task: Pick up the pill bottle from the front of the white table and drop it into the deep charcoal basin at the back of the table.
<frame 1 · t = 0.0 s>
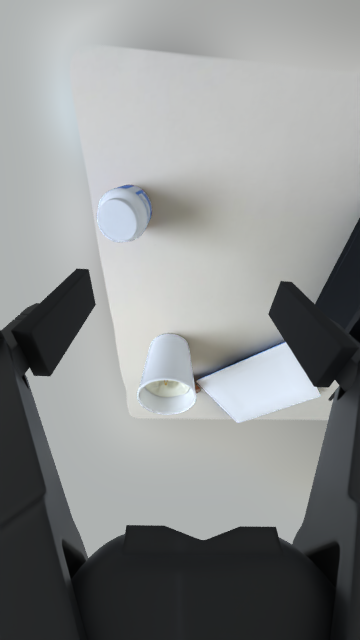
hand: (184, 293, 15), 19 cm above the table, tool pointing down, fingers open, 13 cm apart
pill bottle: (133, 207, 29), on the table
candle holder: (169, 347, 44), on the table
plate: (257, 381, 51), on the table
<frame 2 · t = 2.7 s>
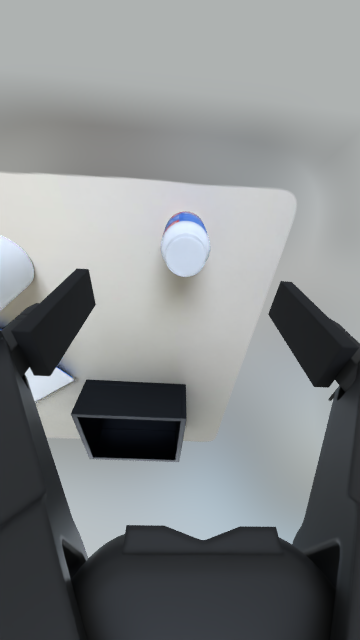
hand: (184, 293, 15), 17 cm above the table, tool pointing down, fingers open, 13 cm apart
basin: (138, 407, 52), on the table
pill bottle: (184, 233, 28), on the table
candle holder: (5, 262, 31), on the table
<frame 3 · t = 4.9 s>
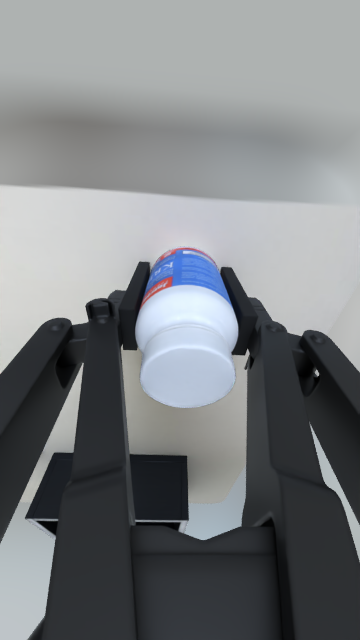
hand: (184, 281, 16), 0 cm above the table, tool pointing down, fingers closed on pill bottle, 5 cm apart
basin: (126, 476, 40), on the table
pill bottle: (184, 278, 17), on the table, touching gripper
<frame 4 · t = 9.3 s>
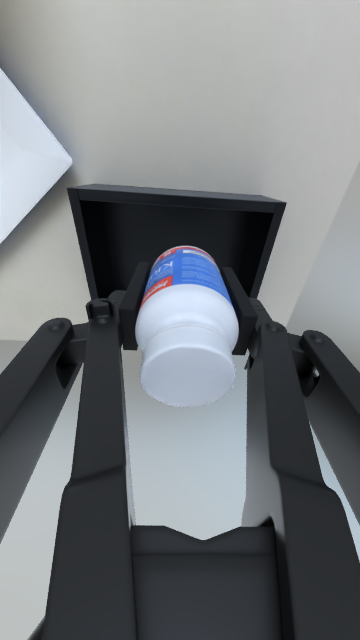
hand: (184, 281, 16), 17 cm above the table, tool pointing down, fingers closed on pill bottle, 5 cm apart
basin: (175, 263, 33), on the table
pill bottle: (184, 278, 17), point 17 cm above the table, touching gripper
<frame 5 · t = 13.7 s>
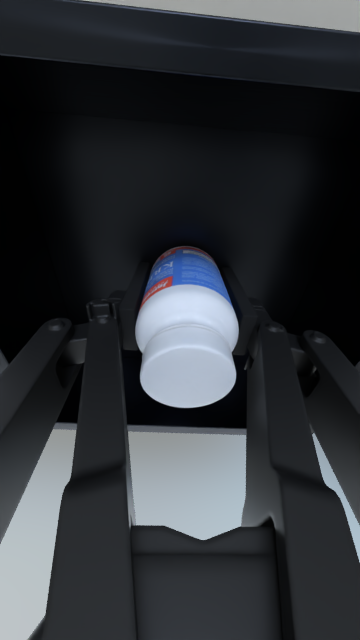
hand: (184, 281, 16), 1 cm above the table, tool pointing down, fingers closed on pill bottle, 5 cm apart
basin: (183, 274, 17), on the table
pill bottle: (184, 278, 17), point 1 cm above the table, touching basin, gripper
when the fingers open (1 cm above the table, at t = 13.8 s): pill bottle stays where it is, resting on basin.
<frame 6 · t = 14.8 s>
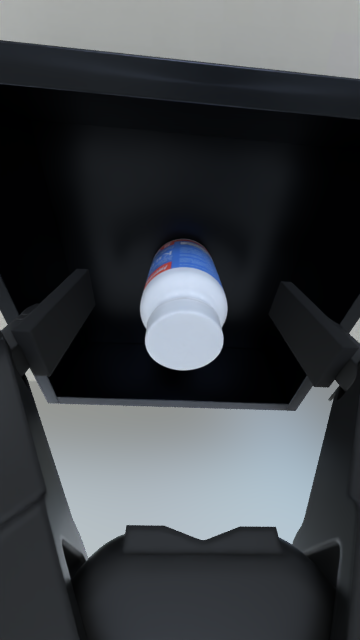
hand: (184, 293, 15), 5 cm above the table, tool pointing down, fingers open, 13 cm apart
basin: (181, 265, 19), on the table
pill bottle: (181, 268, 18), point 1 cm above the table, touching basin
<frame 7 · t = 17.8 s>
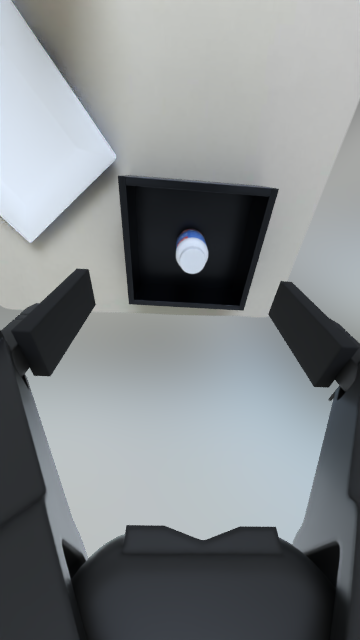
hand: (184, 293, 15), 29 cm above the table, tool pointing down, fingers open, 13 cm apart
basin: (190, 242, 40), on the table
pill bottle: (190, 243, 40), point 1 cm above the table, touching basin
plate: (14, 133, 31), on the table
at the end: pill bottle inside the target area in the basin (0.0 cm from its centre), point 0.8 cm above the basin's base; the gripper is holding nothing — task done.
